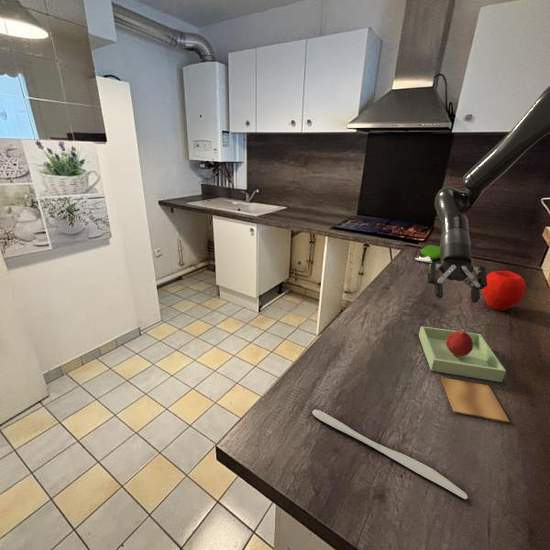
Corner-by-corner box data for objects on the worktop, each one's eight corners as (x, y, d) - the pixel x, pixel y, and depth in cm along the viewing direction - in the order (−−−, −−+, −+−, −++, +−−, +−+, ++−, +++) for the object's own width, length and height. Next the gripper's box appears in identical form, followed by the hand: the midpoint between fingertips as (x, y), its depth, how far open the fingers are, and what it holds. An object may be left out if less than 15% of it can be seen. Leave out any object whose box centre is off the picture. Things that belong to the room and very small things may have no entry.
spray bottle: (446, 253, 155) (435, 266, 138) (425, 249, 161) (411, 261, 144) (448, 248, 154) (436, 260, 137) (426, 244, 160) (412, 255, 143)
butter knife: (317, 404, 60) (310, 413, 58) (468, 487, 46) (467, 504, 44) (317, 406, 61) (310, 415, 58) (467, 490, 46) (466, 506, 44)
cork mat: (488, 386, 66) (488, 385, 66) (509, 423, 58) (509, 421, 57) (440, 378, 69) (441, 377, 68) (453, 412, 60) (454, 411, 60)
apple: (476, 296, 108) (487, 263, 103) (516, 305, 102) (529, 270, 97) (474, 309, 100) (486, 273, 94) (517, 320, 93) (533, 282, 88)
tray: (477, 343, 81) (480, 334, 80) (501, 382, 68) (506, 371, 67) (418, 335, 85) (420, 326, 83) (430, 370, 71) (433, 359, 70)
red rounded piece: (454, 346, 80) (462, 321, 76) (474, 360, 74) (483, 333, 71) (438, 350, 78) (445, 325, 75) (456, 364, 73) (465, 338, 70)
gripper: (432, 239, 83) (433, 292, 77) (489, 243, 80) (494, 299, 74) (424, 251, 90) (424, 300, 84) (476, 255, 87) (480, 307, 81)
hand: (457, 300), depth 79 cm, fingers open, 8 cm apart
